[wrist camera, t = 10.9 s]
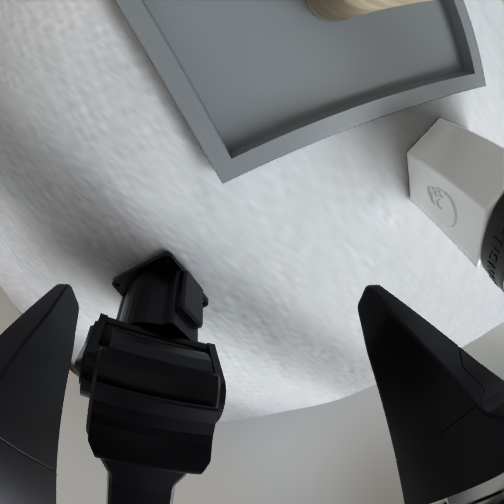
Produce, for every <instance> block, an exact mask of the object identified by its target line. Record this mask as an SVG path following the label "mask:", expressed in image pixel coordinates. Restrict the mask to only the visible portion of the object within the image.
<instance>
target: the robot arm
mask: <svg viewBox="0 0 504 504" xmlns="http://www.w3.org/2000/svg"><path fill="white" fill-rule="evenodd" d="M165 258H169V260H167V259H165ZM117 283H119V284H117ZM112 285H113V287H114V288H115V289H116V290H117V291H118V292H119V293H120V294H121V295H122V296H123V297H122V300H121V304H120V307H119V311H118V314H117V318H116V319H113V318H110V317H108V315H105V314H102V313H101V315H100V317H99V320H98V321H95V324H94V325H93V326H90V329H89V332H88V335H87V338H86V341H85V344H84V346H83V348H82V350H81V351H80V353H79V355H78V357H77V359H76V361H75V365H74V369H75V371H76V373H77V375H78V376H79V384H80V395H82V396H85V397H88V398H90V400H89V407H88V415H87V424H86V430H87V434H88V441H89V444H90V446H91V449H92V451H93V454H94V456H95V457H97V458H100V459H101V461H102V462H103V464H104V466H105V468H106V469H107V471H108V480H107V501H106V504H173V496H174V489H175V485H176V484H177V483H178V482H179V481H180V480H181V479H182V478H183V477H184V476H185V475H186V474H187V473H189V474H202V473H203V472H204V470H205V469H206V467H207V466H208V464H209V463H210V460H211V449H212V439H213V433H214V428H215V424H216V422H217V421H218V420H219V419H220V417H221V415H222V412H223V409H224V405H225V398H226V384H225V379H224V376H223V372H222V369H221V365H220V362H219V358H218V355H217V351H216V347H215V344H211V343H207V344H205V343H201V342H198V328H200V327H202V324H203V307H206V306H207V305H208V298H207V297H206V296H205V294H204V293H203V289H202V288H201V287H200V285H199V284H198V283H197V282H196V280H195V279H194V278H193V277H192V275H191V274H190V273H189V272H188V271H187V270H184V268H183V267H182V266H181V265H180V263H179V262H178V261H177V259H176V258H175V257H174V256H173V254H171V253H169V252H165V253H163V254H161V255H159V256H157V257H155V258H153V259H151V260H149V261H147V262H145V263H143V264H141V265H139V266H137V267H135V268H133V269H131V270H129V271H127V272H125V273H123V274H121V275H119V276H118V277H116V278H114V279H113V282H112ZM203 301H204V302H203ZM78 313H79V306H78V302H77V300H76V297H75V295H74V292H73V290H72V287H71V286H70V285H68V284H58V285H56V286H55V287H54V288H52V289H51V290H50V291H49V292H48V293H46V294H45V295H44V296H43V297H42V298H41V299H39V300H38V301H37V302H36V303H35V304H34V305H32V306H31V307H30V308H29V309H28V310H27V311H26V312H25V313H23V314H22V315H21V316H20V317H19V318H18V319H17V320H16V321H15V322H14V323H12V325H10V326H9V327H8V328H7V329H6V330H5V331H4V332H3V333H2V334H1V335H0V504H56V469H57V468H56V467H57V452H58V440H59V430H60V422H61V414H62V407H63V401H64V394H65V389H66V383H67V378H68V373H69V368H70V363H71V358H72V353H73V346H74V339H75V331H76V325H77V319H78ZM358 313H359V317H360V322H361V326H362V331H363V336H364V340H365V345H366V349H367V353H368V357H369V360H370V363H371V366H372V370H373V373H374V376H375V380H376V383H377V387H378V390H379V394H380V397H381V401H382V404H383V408H384V412H385V415H386V419H387V423H388V427H389V431H390V435H391V439H392V444H393V448H394V452H395V457H396V462H397V467H398V472H399V476H400V481H401V487H402V492H403V497H404V502H405V504H430V503H433V502H436V501H439V500H442V499H445V500H444V501H442V502H440V503H439V504H504V380H502V379H501V378H499V377H498V376H497V375H495V374H494V373H493V372H491V371H490V370H488V369H487V368H486V367H484V366H483V365H482V364H480V363H479V362H477V361H476V360H475V359H474V358H473V357H471V356H470V355H469V354H468V353H466V352H465V351H464V350H463V349H462V348H460V347H458V345H457V344H455V343H454V342H453V341H452V340H450V339H449V338H448V337H447V336H445V335H444V334H443V333H442V332H440V331H439V330H438V329H437V328H435V327H434V326H433V325H431V324H430V323H429V322H428V321H426V320H425V319H424V318H422V317H421V316H420V315H419V314H417V313H416V312H415V311H413V310H412V309H411V308H409V307H408V306H407V305H405V304H404V303H403V302H402V301H400V300H399V299H398V298H396V297H395V296H394V295H392V294H391V293H389V292H388V291H387V290H385V289H384V288H383V287H381V286H380V285H368V286H367V287H366V288H365V290H364V292H363V294H362V297H361V299H360V301H359V304H358Z"/></svg>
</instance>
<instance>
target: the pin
mask: <svg viewBox="0 0 504 504" xmlns="http://www.w3.org/2000/svg"><path fill="white" fill-rule="evenodd" d="M424 1H431V0H306V4H307V6H308V8H309V10H310V11H311V12H312V13H313V14H314V15H315V16H316V17H318V18H319V19H321V20H324V21H327V22H339V21H342V20H346V19H349V18H352V17H356V16H359V15H363V14H366V13H370V12H374V11H378V10H382V9H387V8H391V7H396V6H401V5H406V4H412V3H418V2H424Z"/></svg>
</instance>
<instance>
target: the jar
mask: <svg viewBox="0 0 504 504" xmlns="http://www.w3.org/2000/svg"><path fill="white" fill-rule="evenodd" d="M407 162H408V172H409V186H410V200H411V202H412V203H413V204H414V205H416V206H417V207H418V208H419V209H420V210H421V211H422V212H423V213H424V214H425V215H426V216H427V217H428V218H429V219H430V220H431V221H432V222H434V223H435V224H436V225H437V226H438V227H439V228H440V229H441V230H442V231H443V232H444V233H445V234H446V235H447V236H448V238H449V239H450V240H451V241H452V242H453V243H454V244H455V245H456V246H457V247H458V248H459V249H460V250H461V251H462V252H463V253H464V255H465V256H466V257H467V258H468V259H469V260H470V261H471V262H472V263H473V265H474V266H475V267H477V268H484V269H485V270H486V271H487V273H488V274H489V277H490V278H491V279H492V280H493V281H494V283H495V284H496V285H497V286H498V287H500V288H501V289H502V291H503V292H504V148H503V147H501V146H499V145H497V144H495V143H494V142H492V141H490V140H488V139H486V138H484V137H482V136H480V135H478V134H476V133H474V132H472V131H469V130H467V129H465V128H463V127H461V126H459V125H456V124H454V123H452V122H449V121H447V120H445V119H442V118H439V119H438V120H437V121H436V122H435V123H434V124H433V125H432V126H431V128H430V129H429V130H428V131H427V132H426V133H425V134H424V135H423V136H422V137H421V138H420V139H419V140H418V141H417V142H416V143H415V144H414V146H413V147H412V148H411V149H410V150H409V151H408V152H407Z"/></svg>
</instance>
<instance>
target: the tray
mask: <svg viewBox="0 0 504 504" xmlns="http://www.w3.org/2000/svg"><path fill="white" fill-rule="evenodd" d="M116 2H117V4H118V5H119V7H120V9H121V10H122V12H123V14H124V16H125V17H126V19H127V21H128V22H129V24H130V26H131V27H132V29H133V31H134V32H135V34H136V36H137V37H138V39H139V41H140V42H141V44H142V46H143V48H144V49H145V51H146V53H147V54H148V56H149V58H150V59H151V61H152V63H153V65H154V66H155V68H156V70H157V71H158V73H159V75H160V77H161V78H162V80H163V82H164V83H165V85H166V87H167V89H168V90H169V92H170V94H171V95H172V97H173V99H174V101H175V102H176V104H177V106H178V107H179V109H180V111H181V113H182V114H183V116H184V118H185V119H186V121H187V123H188V125H189V126H190V128H191V130H192V132H193V133H194V135H195V137H196V139H197V140H198V142H199V144H200V145H201V147H202V149H203V151H204V152H205V154H206V156H207V158H208V159H209V161H210V163H211V165H212V166H213V168H214V170H215V172H216V173H217V175H218V177H219V179H220V180H221V182H222V184H223V183H225V182H227V181H229V180H231V179H233V178H236V177H238V176H240V175H242V174H244V173H246V172H248V171H250V170H253V169H255V168H257V167H259V166H261V165H263V164H266V163H268V162H270V161H272V160H275V159H277V158H279V157H281V156H284V155H286V154H288V153H291V152H293V151H295V150H298V149H300V148H302V147H305V146H307V145H309V144H312V143H314V142H317V141H319V140H322V139H324V138H327V137H329V136H332V135H334V134H337V133H339V132H342V131H344V130H347V129H350V128H352V127H355V126H358V125H360V124H363V123H366V122H368V121H371V120H374V119H377V118H380V117H382V116H385V115H388V114H391V113H394V112H397V111H400V110H403V109H406V108H409V107H412V106H415V105H419V104H422V103H425V102H428V101H432V100H435V99H438V98H442V97H445V96H449V95H452V94H456V93H459V92H463V91H467V90H471V89H475V88H479V87H483V86H486V83H485V77H484V72H483V67H482V62H481V58H480V54H479V49H478V45H477V42H476V38H475V34H474V31H473V27H472V24H471V21H470V18H469V15H468V12H467V9H466V6H465V3H464V1H463V0H431V1H424V2H418V3H412V4H406V5H401V6H396V7H391V8H387V9H382V10H378V11H374V12H370V13H366V14H363V15H359V16H356V17H352V18H349V19H346V20H342V21H339V22H327V21H324V20H321V19H319V18H318V17H316V16H315V15H314V14H313V13H312V12H311V11H310V10H309V8H308V6H307V4H306V0H116Z"/></svg>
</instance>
